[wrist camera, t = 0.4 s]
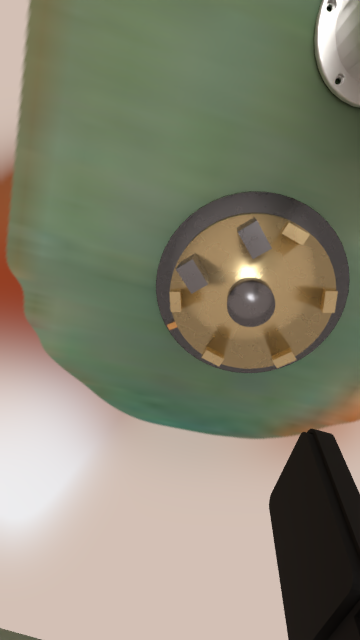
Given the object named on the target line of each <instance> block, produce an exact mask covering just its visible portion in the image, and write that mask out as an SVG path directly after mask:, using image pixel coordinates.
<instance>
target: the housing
mask: <svg viewBox="0 0 360 640" xmlns="http://www.w3.org/2000/svg"><path fill="white" fill-rule="evenodd" d="M250 212H259V213H268V214H274V215H277V216H280V217H284V218H286V219H288V220H290V221H292V222H294V223H296V224H298V225H299V226H301V227H302V228H304V229H305V230H306V231H308V232H309V233H310V234H311V235H312V236H314V237H315V238H316V239H317V240H318V242H319V243H320V244H321V245H322V247H323V248H324V250H325V251H326V253H327V255H328V256H329V258H330V261H331V264H332V266H333V269H334V274H335V279H336V290H337V291H338V294H337V301H336V307H335V313H332V314H331V316H330V319H329V321H328V323H327V325H326V326H325V328H324V330H323V331H322V332H321V334H320V335H319V337H318V338H317V339H316V340H315V341H314V342H313V343H312V344H311V345H310V346H309V347H308V348H306V349H305V350H304V351H303V352H301V353H300V354H298V355H297V356H295V357H296V360H295V361H293V362H291V363H288V364H286V365H284V366H287V365H290V364H292V363H294V362H296V361H298V360H300V359H302V358H303V357H305V356H306V355H308V354H309V353H311V352H312V351H313V350H314V349H315V348H317V347H318V346H319V345H320V344H321V343H322V342H323V341H324V340H325V339H326V338H327V337H328V335H329V334H330V333H331V331H332V330H333V329H334V327H335V326H336V324H337V322H338V320H339V318H340V317H341V314H342V312H343V309H344V307H345V304H346V300H347V296H348V290H349V267H348V262H347V257H346V254H345V251H344V248H343V246H342V243H341V241H340V239H339V238H338V236H337V234H336V232H335V231H334V230H333V228H332V227H331V226H330V225H329V223H328V222H327V221H326V220H325V219H324V218H323V217H322V216H321V215H320V214H318V213H317V212H316V211H314V210H313V209H312V208H310V207H309V206H307V205H306V204H303V203H301V202H299V201H297V200H295V199H293V198H290V197H287V196H283V195H280V194H276V193H270V192H258V191H250V192H241V193H235V194H231V195H227V196H224V197H221V198H219V199H216V200H214V201H212V202H210V203H208V204H206V205H205V206H203V207H201V208H200V209H198V210H197V211H196V212H194V213H193V214H192V215H190V216H189V217H188V218H187V219H186V220H185V221H184V222H183V223H182V224H181V225H180V226H179V228H178V229H177V230H176V231H175V233H174V234H173V235H172V237H171V238H170V240H169V242H168V244H167V245H166V247H165V249H164V252H163V254H162V257H161V259H160V263H159V267H158V271H157V280H156V294H157V301H158V306H159V309H160V313H161V316H162V318H163V320H164V323H165V325H166V326H167V328H168V330H169V331H170V333H171V335H172V336H173V337H174V338H175V340H176V341H177V342H178V343H179V344H180V345H181V346H182V347H183V348H184V349H185V350H186V351H187V352H189V353H190V354H191V355H193V356H194V357H196V358H197V359H199V360H201V361H202V362H204V363H206V364H209V365H211V366H213V367H216V368H219V369H223V370H227V371H232V372H241V373H258V372H265V371H271V370H275V369H279V368H282V367H284V366H281V367H279V368H277V367H276V366H275V365H273V366H269V367H264V368H256V369H244V368H235V367H230V366H226V365H223V364H221V365H220V366H217V365H215V364H213V363H211V362H209V361H207V360H205V359H203V358H201V357H202V354H201V353H199V352H198V351H197V350H196V349H194V348H193V347H192V346H191V345H190V344H189V343H188V342H187V340H186V339H185V338H184V337H183V335H182V334H181V332H180V330H179V329H178V327H177V325H176V323H175V320H174V318H173V314H172V312H171V309H170V293H169V292H170V284H171V278H172V275H173V271H174V268H175V266H176V264H177V262H178V260H179V258H180V256H181V254H182V253H183V251H184V250H185V248H186V247H187V245H188V244H189V243H190V242H191V240H192V239H193V238H194V237H195V236H196V235H197V234H198V233H200V232H201V231H202V230H203V229H205V228H206V227H208V226H209V225H211V224H213V223H214V222H216V221H218V220H220V219H223V218H226V217H228V216H232V215H236V214H240V213H250Z"/></svg>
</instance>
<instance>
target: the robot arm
mask: <svg viewBox="0 0 360 640" xmlns="http://www.w3.org/2000/svg"><path fill="white" fill-rule="evenodd" d="M327 7H331V12H328V11H327V9H326V8H327ZM314 44H315V57H316V61H317V65H318V69H319V72H320V74H321V76H322V78H323V81H324V82H325V84H326V85H327V87H328V88H329V89H330V91H331V92H332V93H333V94H334V95H336V96H337V97H338V98H339V99H340V100H341V101H343V102H345V103H347V104H349V105H351V106H354V107H359V108H360V0H322V2H321V5H320V9H319V12H318V16H317V20H316V27H315V36H314ZM336 79H339V81H340V83H339V85H337V84H336V83H335V80H336ZM269 509H270V516H271V522H272V529H273V536H274V543H275V550H276V557H277V564H278V570H279V577H280V584H281V591H282V598H283V604H284V611H285V618H286V624H287V632H288V638H289V640H360V494H359V492H358V489H357V487H356V485H355V483H354V480H353V478H352V476H351V473H350V471H349V469H348V467H347V465H346V462H345V460H344V458H343V455H342V453H341V451H340V449H339V446H338V444H337V442H336V440H335V438H334V436H333V435H332V434H330V433H326V432H322V431H319V430H315V429H310V430H309V431H308V432H307V433H306V432H303V433H301V435H300V437H299V439H298V441H297V443H296V445H295V447H294V449H293V451H292V453H291V455H290V457H289V459H288V461H287V463H286V465H285V467H284V469H283V471H282V473H281V475H280V477H279V479H278V481H277V483H276V485H275V487H274V489H273V491H272V493H271V496H270V502H269ZM0 640H41V639H37V638H33V637H30V636H26V635H23V634H19V633H15V632H12V631H8V630H5V629H1V628H0Z"/></svg>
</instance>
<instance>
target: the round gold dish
mask: <svg viewBox="0 0 360 640" xmlns="http://www.w3.org/2000/svg"><path fill="white" fill-rule="evenodd" d="M169 293H170V309H171V312H172V314H173V318H174V320H175V323H176V325H177V327H178V329H179V330H180V332H181V334H182V335H183V337H184V338H185V339H186V340H187V342H188V343H189V344H190V345H191V346H192V347H193V348H194V349H196V350H197V351H198V352H199V353H201V354H202V357H201V358H203V359H205V360H207V361H209V362H211V363H213V364H215V365H217V366H220V365H221V364H223V365H226V366H230V367H235V368H244V369H256V368H264V367H269V366H273V365H275V366H276V367H277V368H279V367H281V366H284V365H286V364H288V363H291V362H293V361H295V360H296V357H295V356H297V355H298V354H300V353H301V352H303V351H304V350H305V349H306V348H308V347H309V346H310V345H311V344H312V343H313V342H314V341H315V340H316V339H317V338H318V337H319V335H320V334H321V332H322V331H323V330H324V328H325V326H326V325H327V323H328V321H329V319H330V316H331V314H332V313H335V307H336V301H337V294H338V291H337V290H336V279H335V274H334V269H333V266H332V264H331V261H330V258H329V256H328V255H327V253H326V251H325V250H324V248H323V247H322V245H321V244H320V243H319V242H318V240H317V239H316V238H315V237H314V236H312V235H311V234H310V233H309V232H308V231H306V230H305V229H304V228H302V227H301V226H299V225H298V224H296V223H294V222H292V221H290V220H288V219H286V218H284V217H280V216H277V215H274V214H268V213H259V212H250V213H240V214H236V215H232V216H228V217H226V218H223V219H220V220H218V221H216V222H214V223H213V224H211V225H209V226H208V227H206V228H205V229H203V230H202V231H201V232H200V233H198V234H197V235H196V236H195V237H194V238H193V239H192V240H191V242H190V243H189V244H188V245H187V247H186V248H185V250H184V251H183V253H182V254H181V256H180V258H179V260H178V262H177V264H176V266H175V268H174V271H173V275H172V278H171V284H170V292H169Z"/></svg>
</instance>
